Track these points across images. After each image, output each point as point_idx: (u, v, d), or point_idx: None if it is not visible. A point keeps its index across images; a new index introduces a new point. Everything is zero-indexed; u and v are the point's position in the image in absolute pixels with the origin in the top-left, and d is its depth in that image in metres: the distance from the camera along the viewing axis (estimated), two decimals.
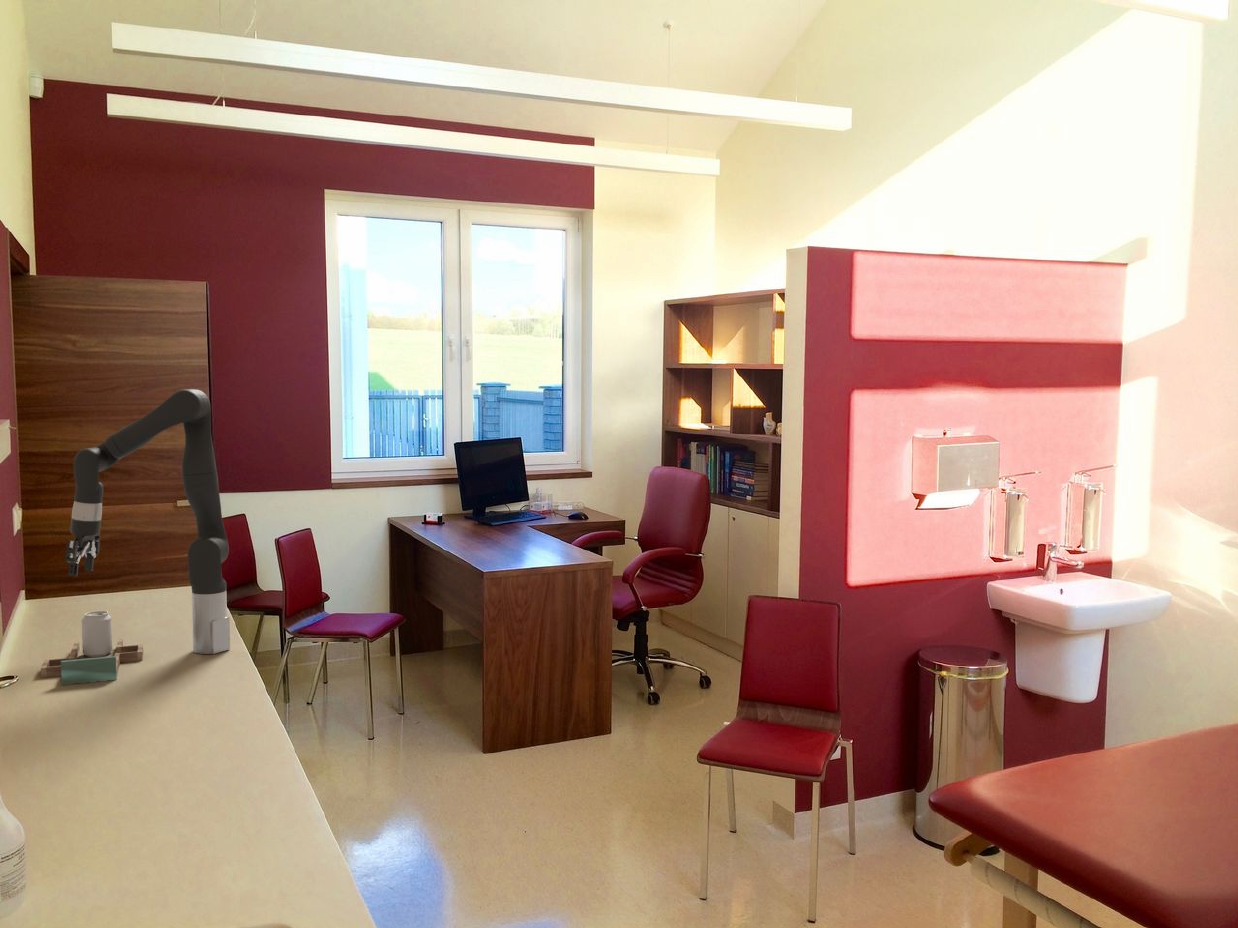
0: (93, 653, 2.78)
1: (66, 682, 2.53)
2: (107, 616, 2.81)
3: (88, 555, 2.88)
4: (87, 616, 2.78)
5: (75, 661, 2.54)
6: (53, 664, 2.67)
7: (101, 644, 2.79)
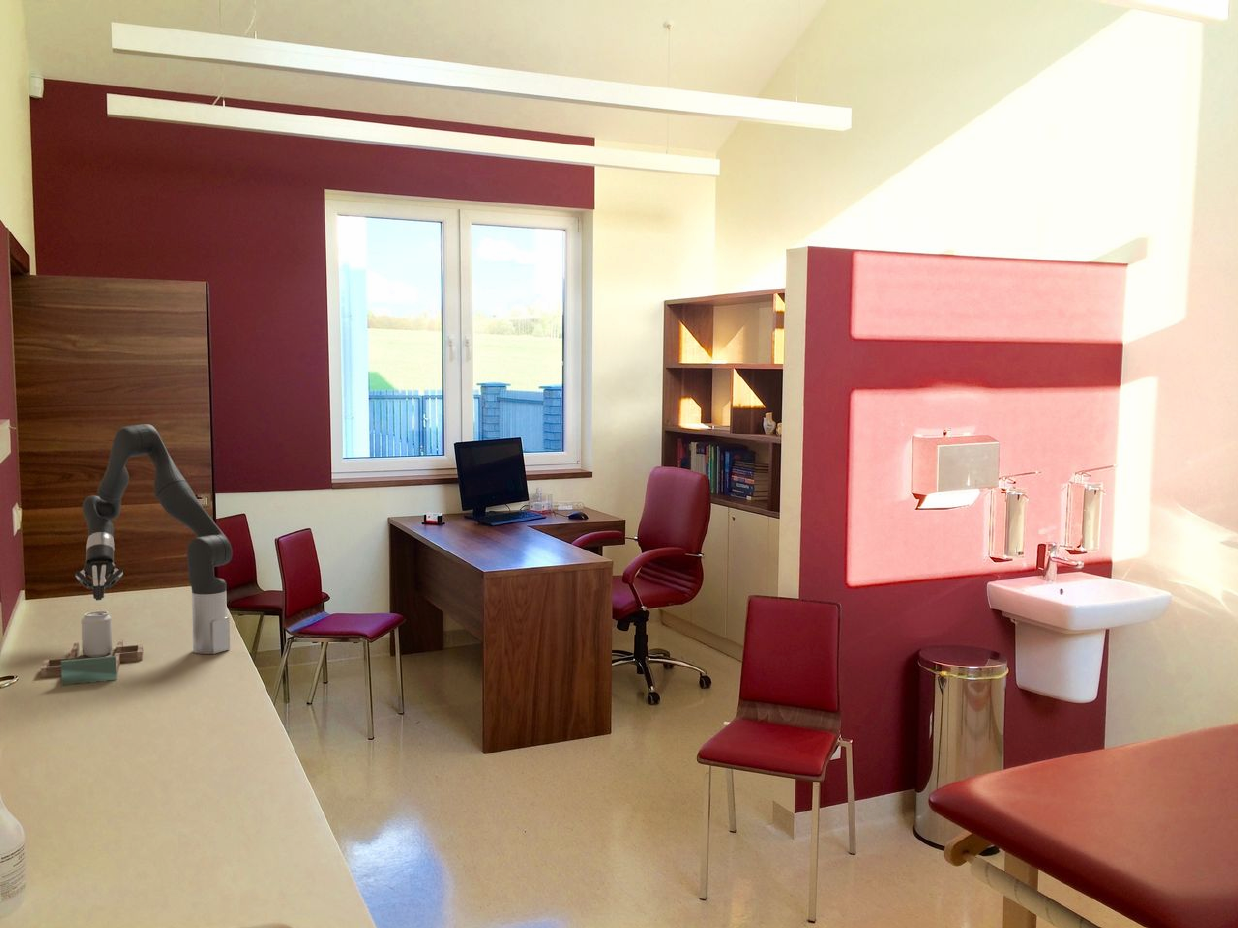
0: (93, 653, 2.78)
1: (66, 682, 2.53)
2: (107, 616, 2.81)
3: None
4: (87, 616, 2.78)
5: (75, 661, 2.54)
6: (53, 664, 2.67)
7: (101, 644, 2.79)
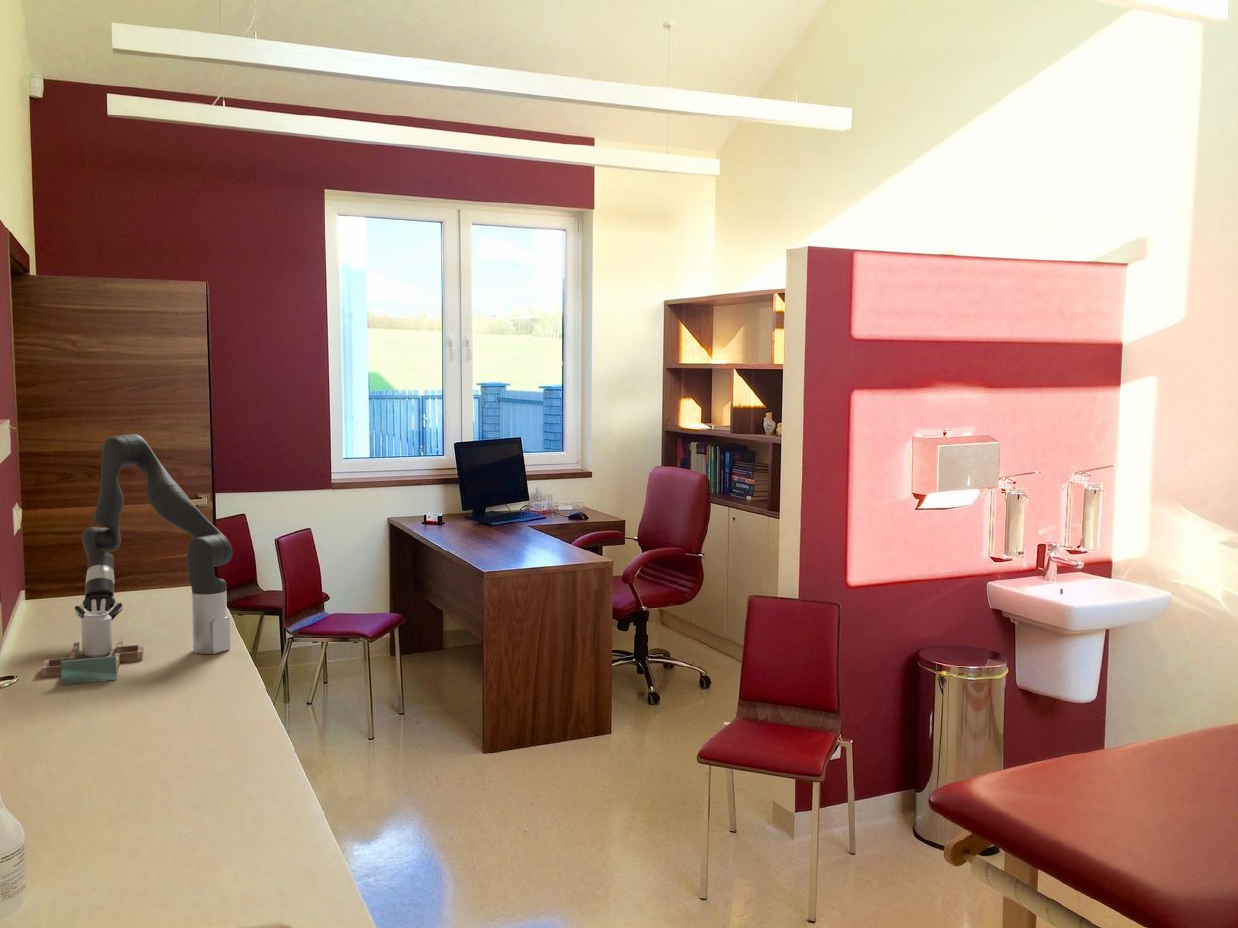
0: (93, 653, 2.78)
1: (66, 682, 2.53)
2: (107, 616, 2.81)
3: None
4: (87, 616, 2.78)
5: (75, 661, 2.54)
6: (53, 664, 2.67)
7: (101, 644, 2.79)
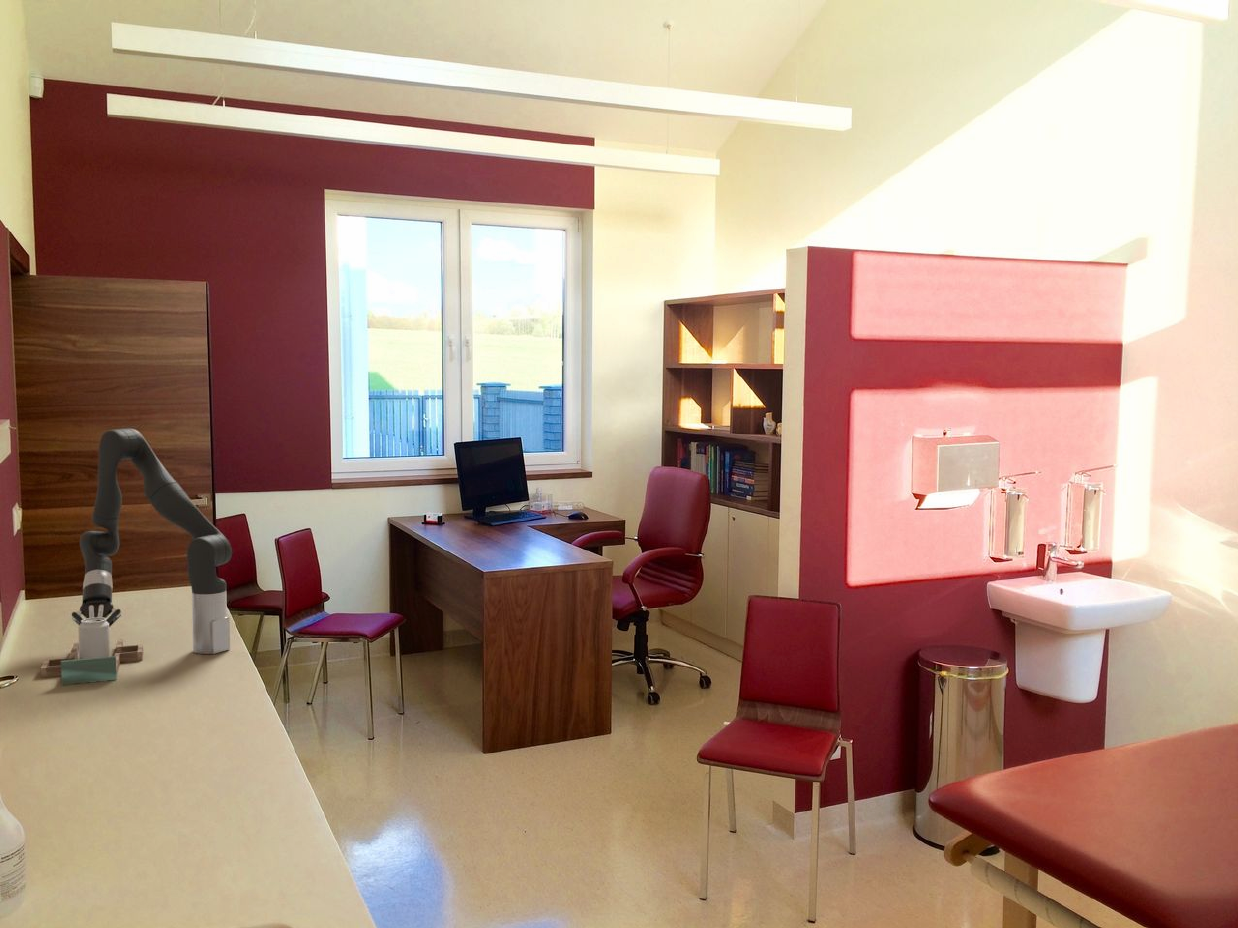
0: None
1: (66, 682, 2.53)
2: (105, 622, 2.73)
3: None
4: (84, 623, 2.70)
5: (75, 661, 2.54)
6: (53, 664, 2.67)
7: (99, 651, 2.71)
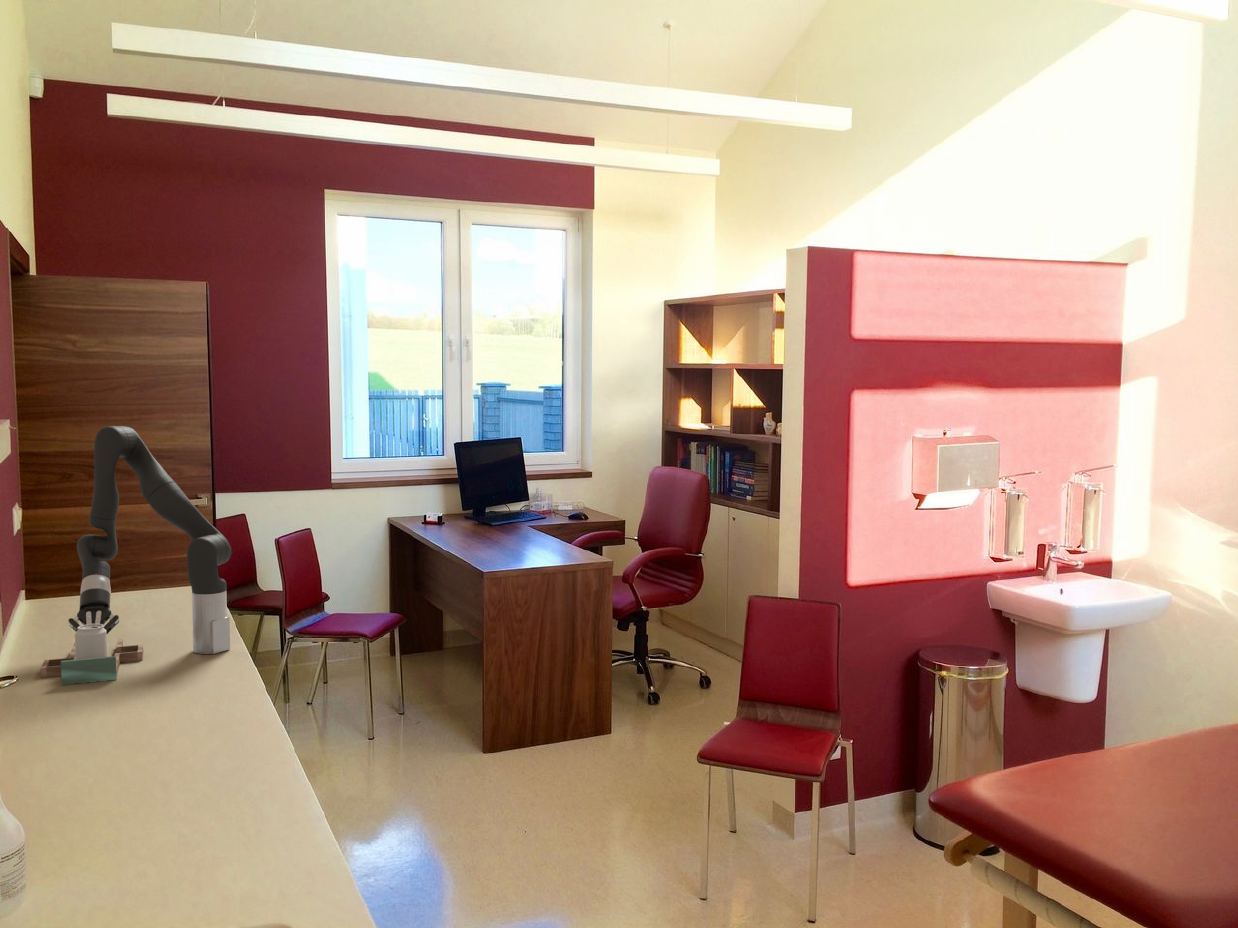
0: None
1: (66, 682, 2.53)
2: (102, 629, 2.66)
3: None
4: (81, 630, 2.63)
5: (75, 661, 2.54)
6: (53, 664, 2.67)
7: None
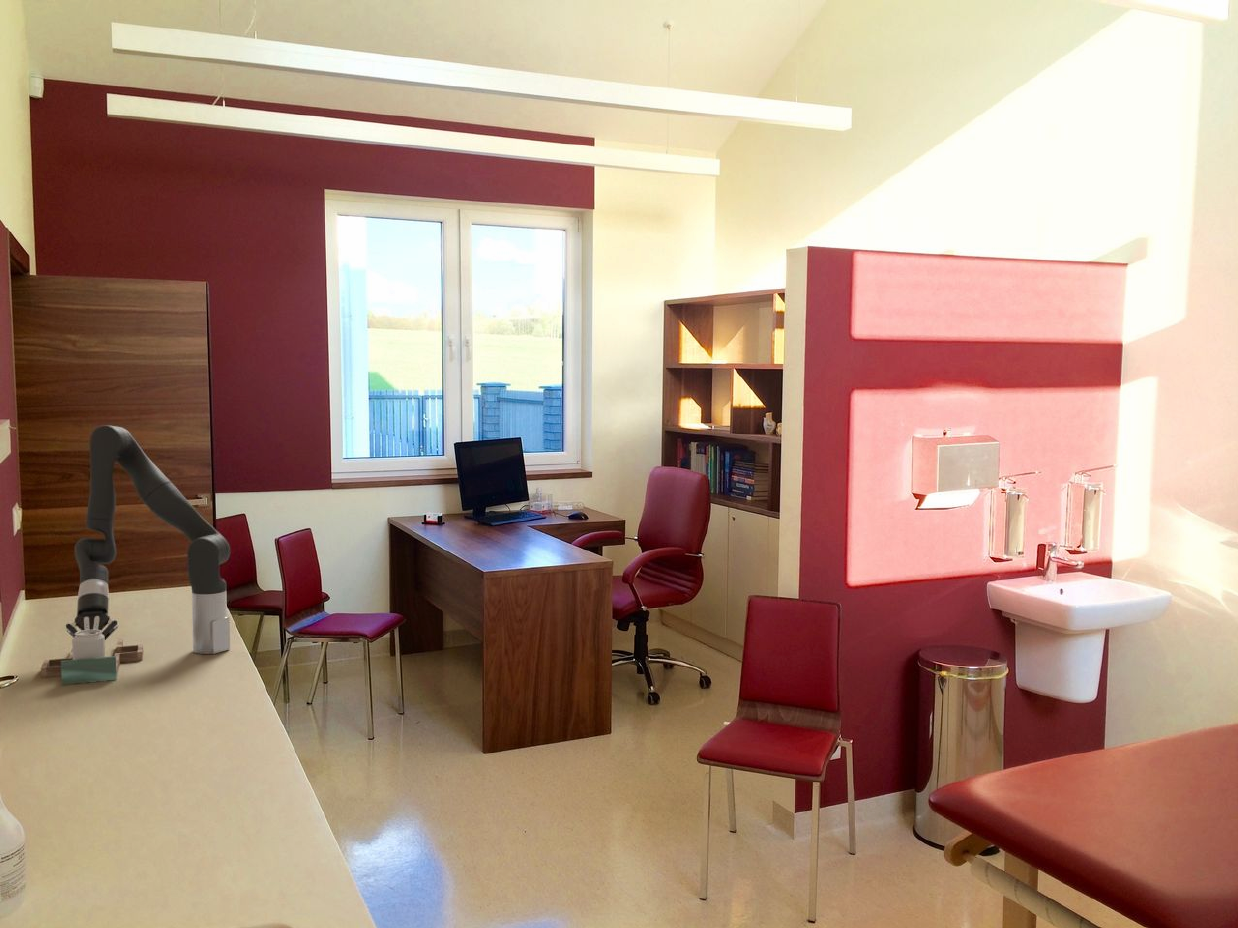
0: None
1: (66, 682, 2.53)
2: (100, 635, 2.60)
3: None
4: (78, 635, 2.57)
5: (75, 661, 2.54)
6: (53, 664, 2.67)
7: None
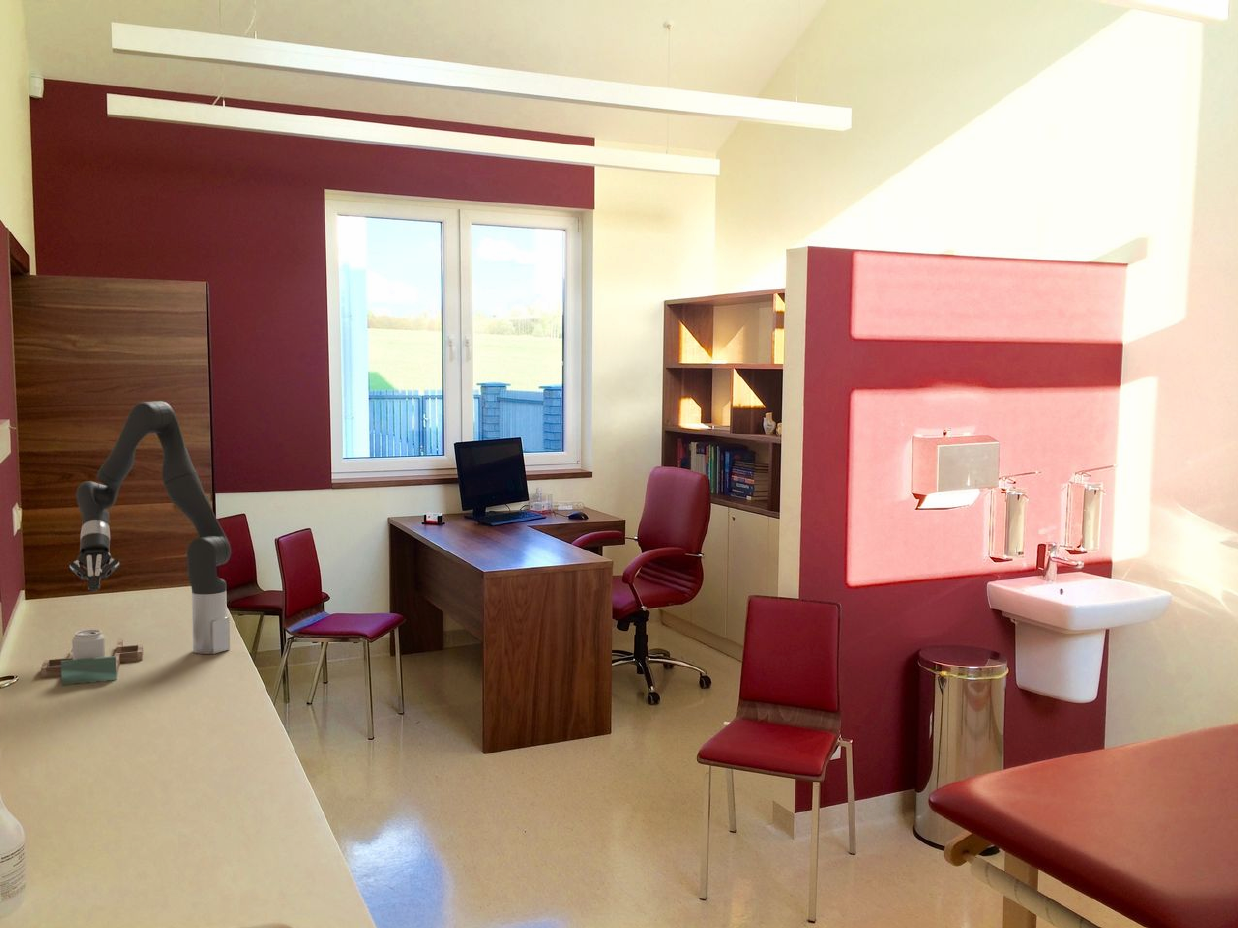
0: None
1: (66, 682, 2.53)
2: (100, 635, 2.60)
3: (95, 577, 2.78)
4: (78, 636, 2.57)
5: (75, 661, 2.54)
6: (53, 664, 2.67)
7: None
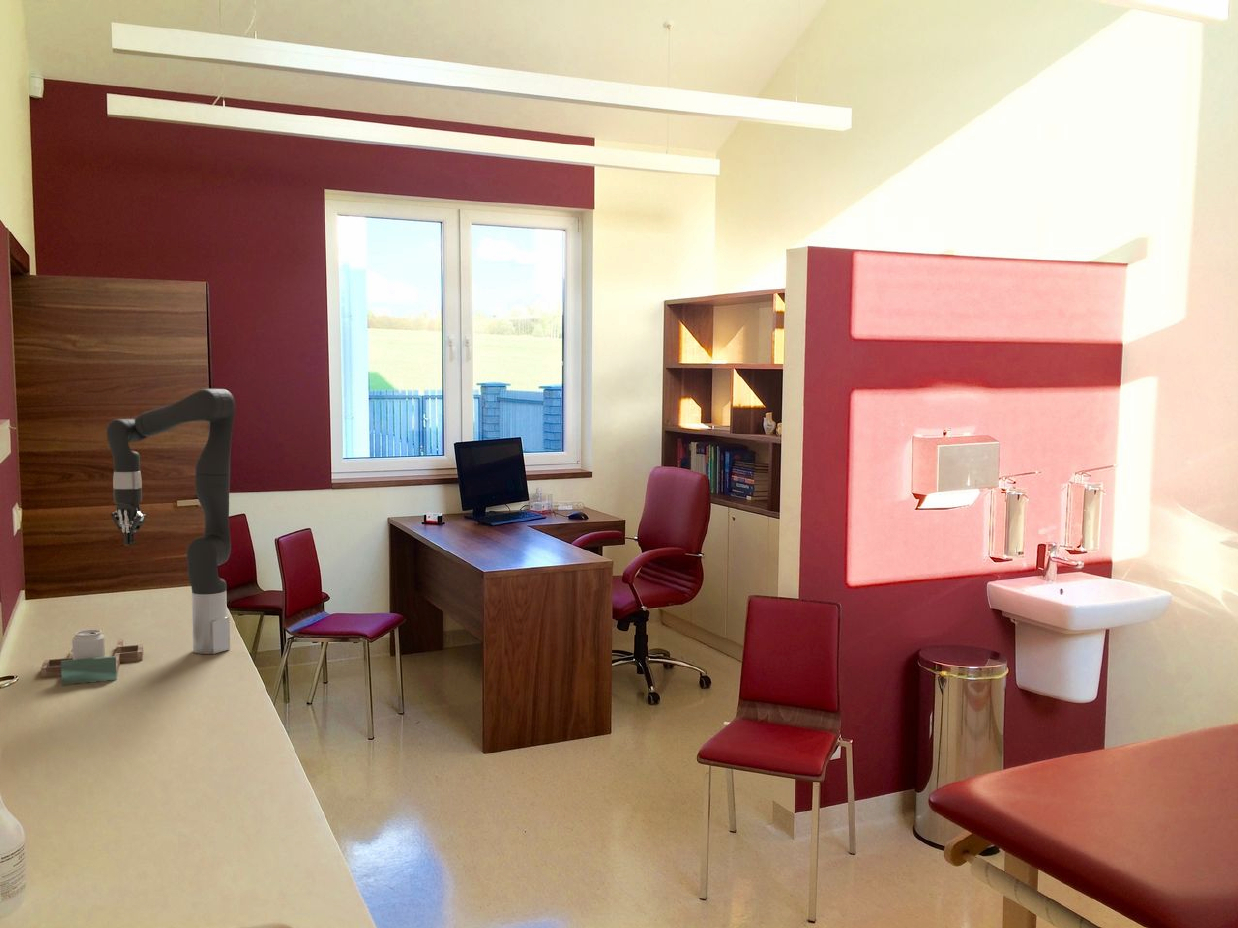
0: None
1: (66, 682, 2.53)
2: (100, 635, 2.60)
3: None
4: (78, 636, 2.57)
5: (75, 661, 2.54)
6: (53, 664, 2.67)
7: None
